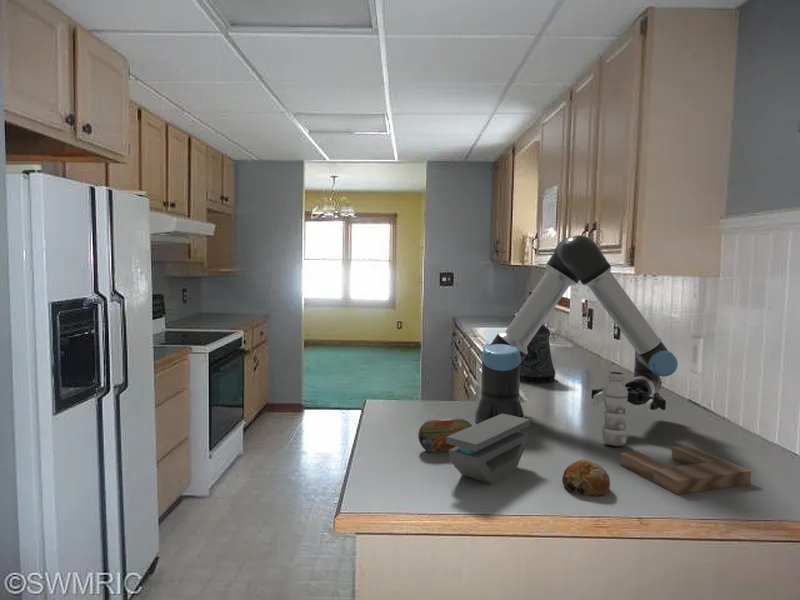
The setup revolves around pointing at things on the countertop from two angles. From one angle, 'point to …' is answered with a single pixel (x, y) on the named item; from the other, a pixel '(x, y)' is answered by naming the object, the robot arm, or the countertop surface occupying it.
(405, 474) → the countertop surface
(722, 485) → the notched board
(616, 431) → the plastic bottle
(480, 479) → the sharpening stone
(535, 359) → the beer stein
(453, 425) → the tin
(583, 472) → the bread roll
